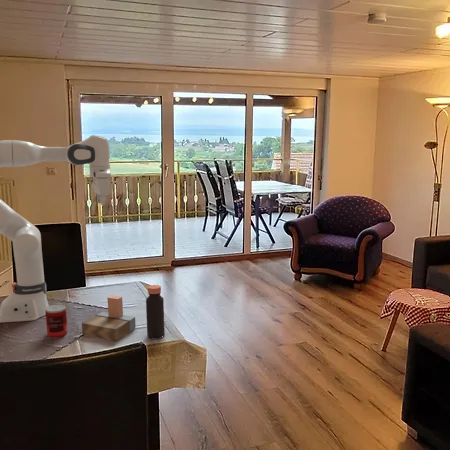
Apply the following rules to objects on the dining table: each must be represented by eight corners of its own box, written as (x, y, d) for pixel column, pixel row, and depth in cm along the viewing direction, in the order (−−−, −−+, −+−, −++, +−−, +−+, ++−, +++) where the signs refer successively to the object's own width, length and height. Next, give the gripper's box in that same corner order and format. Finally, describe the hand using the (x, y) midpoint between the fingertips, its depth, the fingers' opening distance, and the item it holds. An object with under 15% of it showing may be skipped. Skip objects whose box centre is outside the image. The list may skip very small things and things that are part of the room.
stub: (97, 325, 198) (95, 296, 195) (103, 322, 201) (101, 293, 199) (130, 331, 192) (128, 301, 189) (135, 328, 195) (134, 298, 193)
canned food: (60, 328, 196) (58, 302, 194) (71, 333, 191) (70, 307, 189) (43, 334, 190) (41, 308, 188) (54, 339, 185) (52, 312, 183)
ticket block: (82, 334, 189) (81, 322, 188) (96, 326, 197) (96, 314, 196) (116, 341, 183) (115, 328, 182) (129, 332, 191) (129, 320, 190)
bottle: (148, 340, 184) (146, 290, 181) (146, 333, 191) (144, 284, 187) (166, 337, 186) (164, 288, 182) (163, 331, 193) (161, 283, 189)
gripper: (89, 172, 220) (90, 202, 222) (96, 173, 202) (97, 206, 204) (103, 172, 223) (104, 201, 225) (111, 173, 204) (112, 205, 206)
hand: (101, 204), depth 214 cm, fingers open, 8 cm apart
